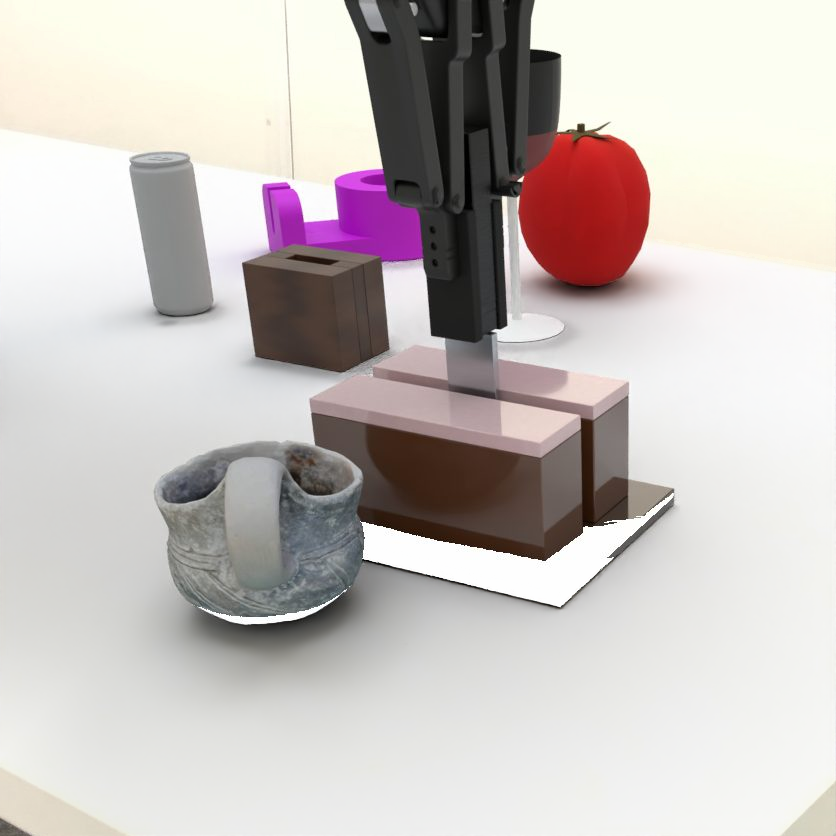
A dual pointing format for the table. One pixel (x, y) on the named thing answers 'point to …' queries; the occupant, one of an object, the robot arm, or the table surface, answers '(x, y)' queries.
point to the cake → (487, 454)
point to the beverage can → (171, 232)
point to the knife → (478, 362)
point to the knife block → (317, 306)
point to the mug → (263, 527)
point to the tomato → (586, 208)
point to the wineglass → (538, 147)
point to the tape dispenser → (346, 219)
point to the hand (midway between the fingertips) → (469, 330)
